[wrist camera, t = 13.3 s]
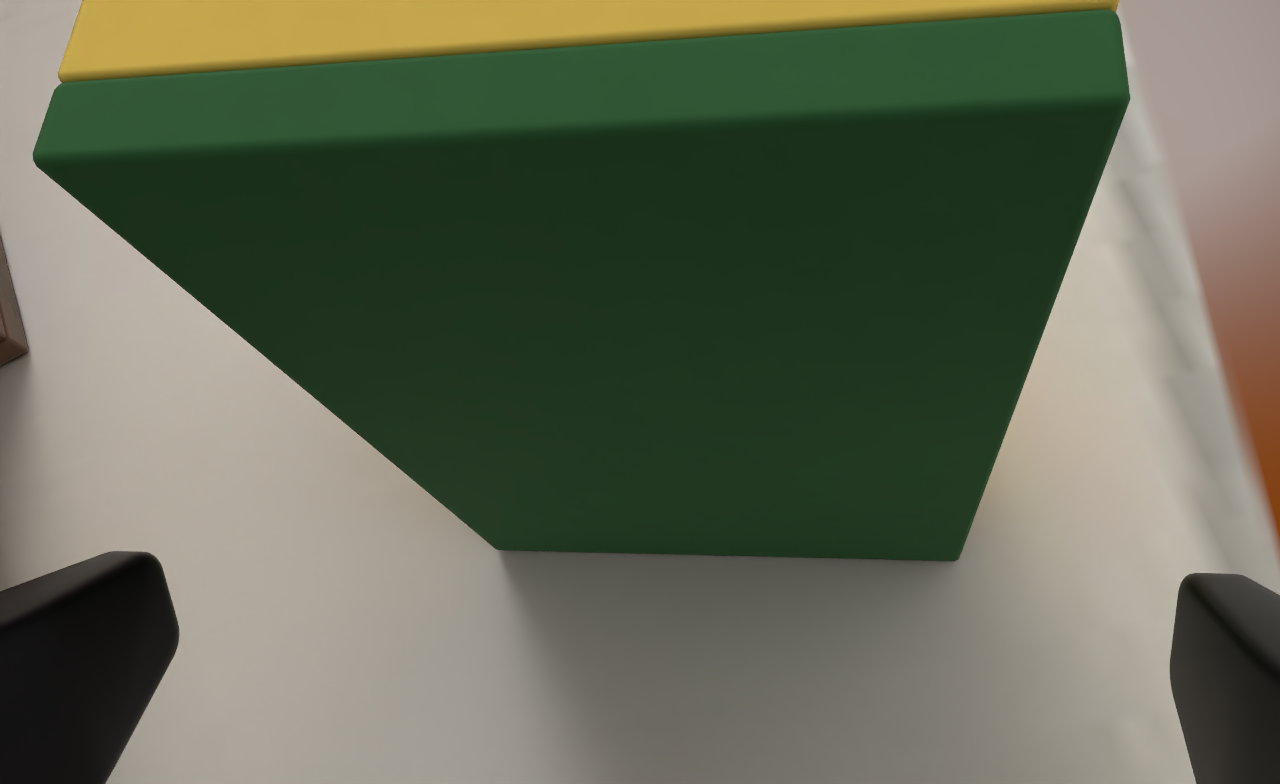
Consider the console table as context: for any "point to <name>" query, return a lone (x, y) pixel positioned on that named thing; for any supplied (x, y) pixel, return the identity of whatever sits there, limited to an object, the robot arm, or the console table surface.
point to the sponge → (621, 240)
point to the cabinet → (9, 317)
